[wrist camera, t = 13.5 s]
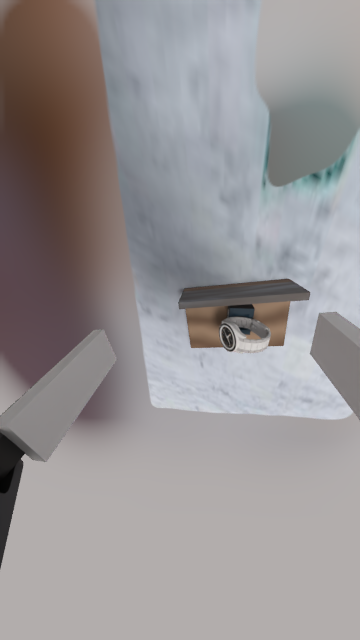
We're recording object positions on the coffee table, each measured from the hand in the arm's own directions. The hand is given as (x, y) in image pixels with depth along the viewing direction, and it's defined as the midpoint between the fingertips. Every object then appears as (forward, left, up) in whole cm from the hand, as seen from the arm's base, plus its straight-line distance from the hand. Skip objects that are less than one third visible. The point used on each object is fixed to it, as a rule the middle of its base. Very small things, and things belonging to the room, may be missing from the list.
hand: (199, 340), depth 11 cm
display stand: (+11, +5, -26) cm, 29 cm away
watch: (+10, +6, -24) cm, 27 cm away
